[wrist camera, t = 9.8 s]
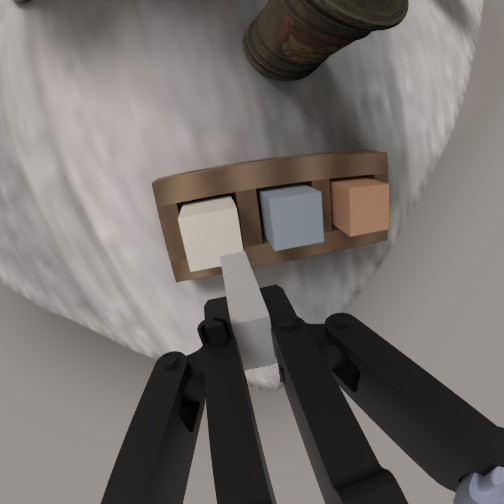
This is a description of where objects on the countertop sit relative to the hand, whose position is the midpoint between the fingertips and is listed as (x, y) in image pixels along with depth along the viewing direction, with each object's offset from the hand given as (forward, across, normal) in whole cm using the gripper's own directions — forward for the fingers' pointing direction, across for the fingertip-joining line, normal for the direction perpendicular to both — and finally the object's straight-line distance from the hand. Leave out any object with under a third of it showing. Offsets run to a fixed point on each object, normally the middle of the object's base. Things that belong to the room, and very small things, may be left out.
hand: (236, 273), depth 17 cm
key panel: (+16, +7, -1) cm, 17 cm away
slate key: (+15, +7, -1) cm, 16 cm away
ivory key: (+14, -1, 0) cm, 14 cm away
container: (+16, +10, +18) cm, 27 cm away
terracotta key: (+15, +15, -1) cm, 21 cm away
